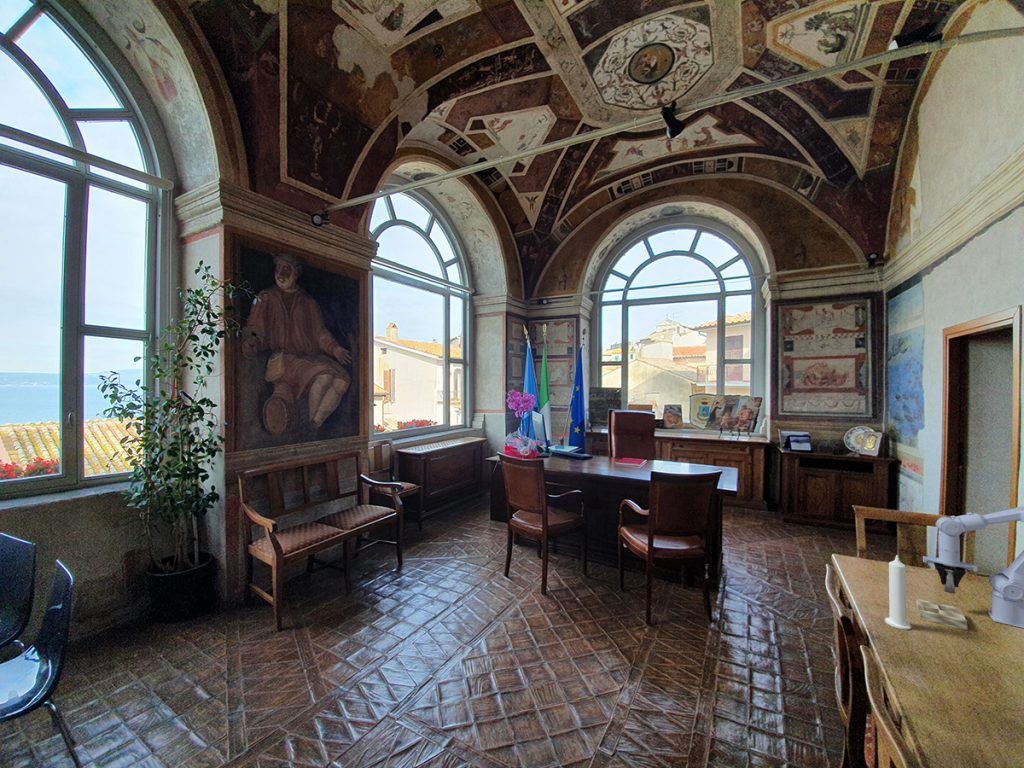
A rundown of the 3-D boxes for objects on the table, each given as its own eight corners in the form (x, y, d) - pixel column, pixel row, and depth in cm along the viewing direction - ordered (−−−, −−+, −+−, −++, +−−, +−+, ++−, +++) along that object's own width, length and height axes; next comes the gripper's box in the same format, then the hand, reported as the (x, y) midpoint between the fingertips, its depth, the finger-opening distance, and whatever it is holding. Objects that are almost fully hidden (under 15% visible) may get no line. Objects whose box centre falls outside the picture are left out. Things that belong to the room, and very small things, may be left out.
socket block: (959, 616, 158) (959, 608, 158) (967, 630, 149) (967, 621, 149) (915, 605, 166) (915, 598, 166) (920, 619, 156) (920, 610, 156)
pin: (954, 591, 163) (954, 570, 163) (956, 594, 161) (955, 573, 161) (943, 589, 165) (943, 568, 165) (944, 592, 162) (944, 571, 162)
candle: (916, 631, 148) (915, 559, 149) (893, 628, 150) (892, 558, 150) (902, 620, 155) (901, 552, 156) (880, 618, 157) (879, 550, 157)
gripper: (973, 551, 162) (974, 586, 161) (921, 542, 170) (921, 576, 170) (978, 556, 156) (979, 593, 156) (924, 547, 165) (924, 582, 165)
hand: (949, 585), depth 163 cm, fingers closed on pin, 3 cm apart
